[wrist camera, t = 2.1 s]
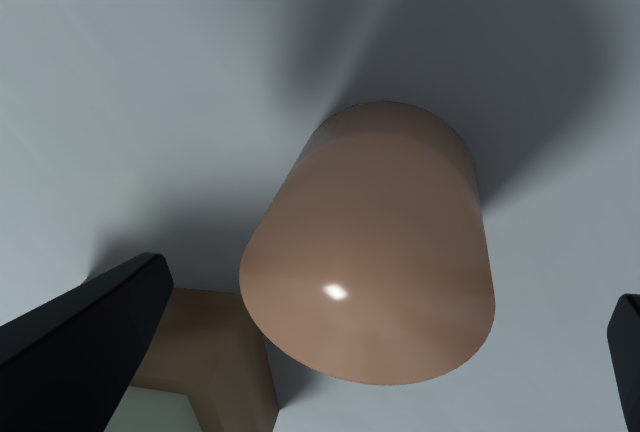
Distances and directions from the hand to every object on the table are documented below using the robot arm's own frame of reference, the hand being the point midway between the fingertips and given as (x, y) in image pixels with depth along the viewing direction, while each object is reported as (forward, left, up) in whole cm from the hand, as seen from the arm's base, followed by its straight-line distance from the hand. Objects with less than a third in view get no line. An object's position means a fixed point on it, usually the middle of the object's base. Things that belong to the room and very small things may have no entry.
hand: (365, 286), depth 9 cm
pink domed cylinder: (0, 0, -4) cm, 4 cm away
